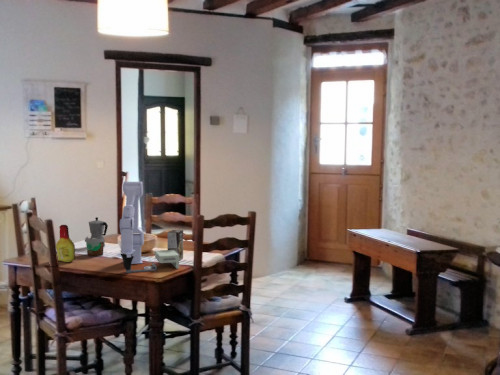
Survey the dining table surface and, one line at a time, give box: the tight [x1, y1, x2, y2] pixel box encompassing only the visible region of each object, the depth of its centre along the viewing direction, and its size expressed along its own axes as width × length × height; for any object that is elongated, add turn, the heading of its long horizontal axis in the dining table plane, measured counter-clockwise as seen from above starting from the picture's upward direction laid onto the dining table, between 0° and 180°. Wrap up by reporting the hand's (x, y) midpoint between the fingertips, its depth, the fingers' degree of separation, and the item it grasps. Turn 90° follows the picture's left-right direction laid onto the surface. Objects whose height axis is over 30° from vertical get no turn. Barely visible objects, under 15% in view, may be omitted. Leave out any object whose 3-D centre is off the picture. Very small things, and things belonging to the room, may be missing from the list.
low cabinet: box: [154, 249, 180, 269], centre depth 298 cm, size 10×15×7 cm
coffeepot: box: [88, 217, 108, 247], centre depth 345 cm, size 15×9×18 cm, turn 59°
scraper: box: [125, 262, 158, 274], centre depth 290 cm, size 15×11×6 cm
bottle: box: [55, 224, 76, 263], centre depth 305 cm, size 12×6×20 cm, turn 60°
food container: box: [84, 236, 106, 257], centre depth 321 cm, size 12×6×10 cm, turn 68°
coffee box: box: [167, 229, 184, 262], centre depth 312 cm, size 9×6×16 cm
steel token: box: [143, 265, 154, 270], centre depth 293 cm, size 5×5×1 cm
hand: (127, 268), depth 284 cm, fingers open, 3 cm apart
